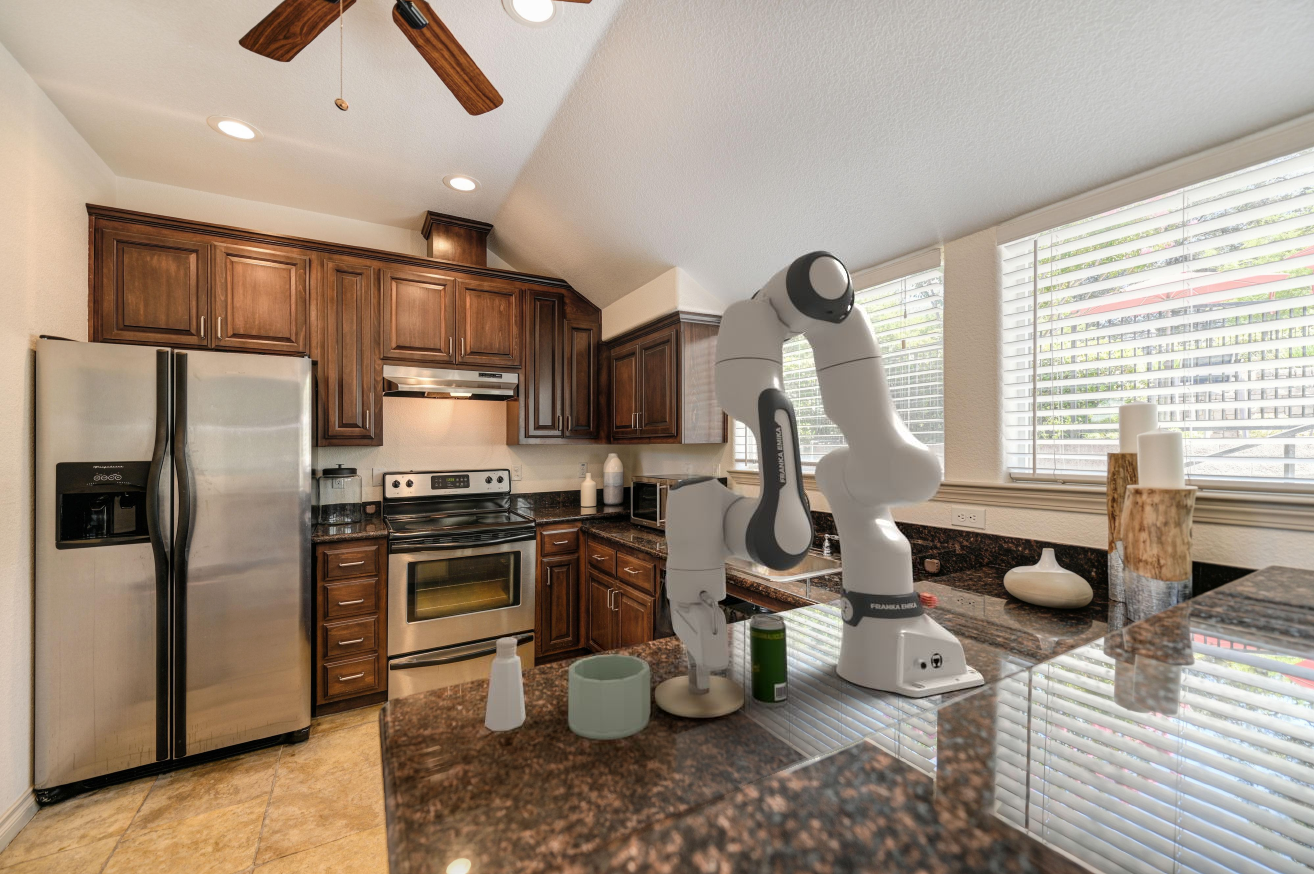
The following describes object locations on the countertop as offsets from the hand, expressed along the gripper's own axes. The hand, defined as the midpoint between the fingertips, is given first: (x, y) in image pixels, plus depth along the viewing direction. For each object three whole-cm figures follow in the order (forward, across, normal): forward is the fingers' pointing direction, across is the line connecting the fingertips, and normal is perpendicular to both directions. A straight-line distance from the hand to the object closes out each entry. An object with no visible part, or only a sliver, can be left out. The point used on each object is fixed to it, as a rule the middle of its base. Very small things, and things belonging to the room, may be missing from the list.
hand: (698, 681), depth 77 cm
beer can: (+4, -1, -10) cm, 11 cm away
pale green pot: (+3, -3, +14) cm, 14 cm away
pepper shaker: (+3, -1, +28) cm, 28 cm away
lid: (+2, 0, 0) cm, 2 cm away
